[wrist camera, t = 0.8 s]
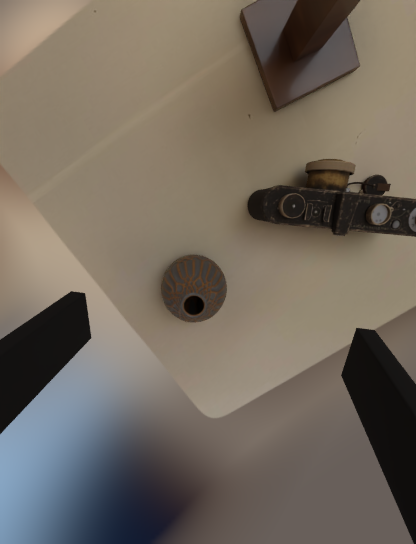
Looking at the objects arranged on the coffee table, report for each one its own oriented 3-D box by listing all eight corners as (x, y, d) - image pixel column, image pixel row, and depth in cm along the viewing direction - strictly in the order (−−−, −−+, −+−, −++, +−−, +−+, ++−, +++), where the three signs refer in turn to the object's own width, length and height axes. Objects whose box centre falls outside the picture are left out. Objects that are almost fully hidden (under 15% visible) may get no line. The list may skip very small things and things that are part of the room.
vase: (229, 257, 31) (242, 277, 22) (215, 310, 32) (222, 347, 24) (171, 244, 30) (162, 259, 22) (160, 299, 32) (147, 333, 23)
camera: (396, 176, 29) (467, 165, 22) (381, 235, 31) (443, 245, 23) (252, 160, 28) (274, 144, 21) (245, 222, 30) (262, 228, 22)
